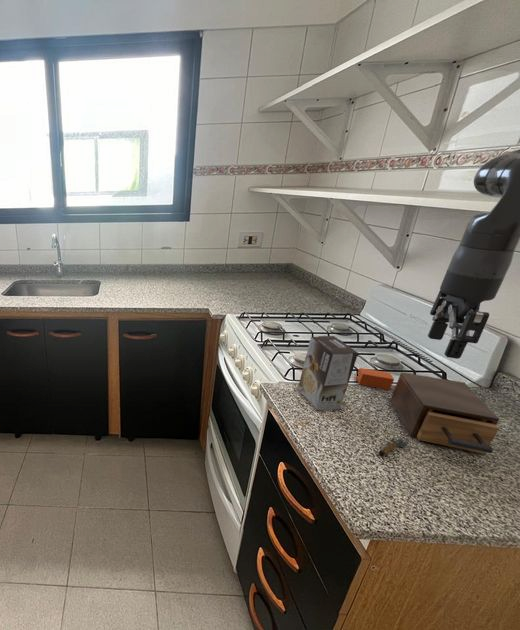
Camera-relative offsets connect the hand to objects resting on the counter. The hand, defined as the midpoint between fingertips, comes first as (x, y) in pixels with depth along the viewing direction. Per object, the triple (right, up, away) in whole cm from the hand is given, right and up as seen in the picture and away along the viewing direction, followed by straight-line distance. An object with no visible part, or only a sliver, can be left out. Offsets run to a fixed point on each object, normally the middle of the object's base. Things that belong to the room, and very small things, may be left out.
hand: (442, 347), depth 71 cm
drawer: (+5, -20, +5) cm, 21 cm away
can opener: (-8, -22, +3) cm, 24 cm away
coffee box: (-14, -15, +19) cm, 28 cm away
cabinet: (+7, -19, +10) cm, 22 cm away
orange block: (+5, -12, +25) cm, 28 cm away
